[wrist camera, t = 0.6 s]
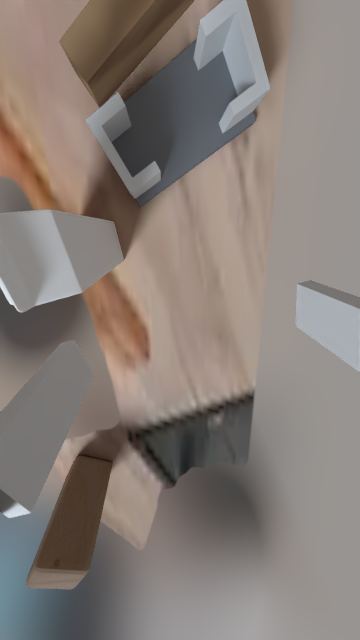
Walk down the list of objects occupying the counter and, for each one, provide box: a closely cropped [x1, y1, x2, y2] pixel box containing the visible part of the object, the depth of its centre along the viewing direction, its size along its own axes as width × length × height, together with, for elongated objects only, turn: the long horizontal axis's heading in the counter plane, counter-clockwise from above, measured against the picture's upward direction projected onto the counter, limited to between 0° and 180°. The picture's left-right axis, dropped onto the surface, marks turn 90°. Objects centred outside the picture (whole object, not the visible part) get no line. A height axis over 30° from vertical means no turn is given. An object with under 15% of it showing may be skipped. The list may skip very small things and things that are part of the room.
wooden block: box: [26, 455, 112, 589], centre depth 46 cm, size 10×10×20 cm
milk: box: [0, 209, 124, 312], centre depth 21 cm, size 6×6×22 cm
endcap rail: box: [85, 0, 270, 207], centre depth 24 cm, size 10×19×6 cm, turn 122°
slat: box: [59, 0, 194, 107], centre depth 20 cm, size 4×15×5 cm, turn 128°
